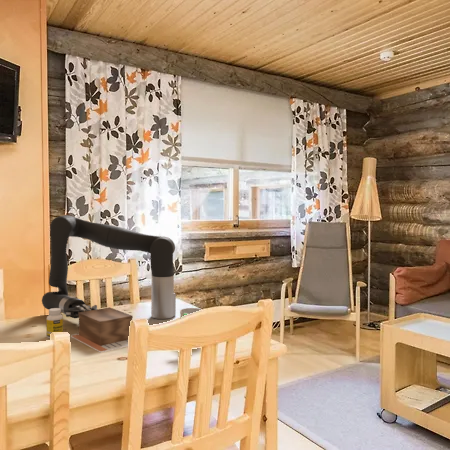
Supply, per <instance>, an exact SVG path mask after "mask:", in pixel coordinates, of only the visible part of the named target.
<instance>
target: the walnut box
mask: <svg viewBox="0 0 450 450" xmlns="http://www.w3.org/2000/svg"><path fill="white" fill-rule="evenodd" d="M78 315H79V318H78V333H79V335H80V336H82V337H84V338H86V339H88V340H90V341H92V342H94V343H95V344H97V345H99V346H102V345H107V344H111V343H116V342H120V341H124V340H128V336H129V326H130V321H131V320H132V321H133V315H131V314H129V313H126V312H123V311H120V310H118V309H115V308H113V307H111V306H110V307H105V308H97V310H91V311H85V312H79V313H78Z"/></svg>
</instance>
